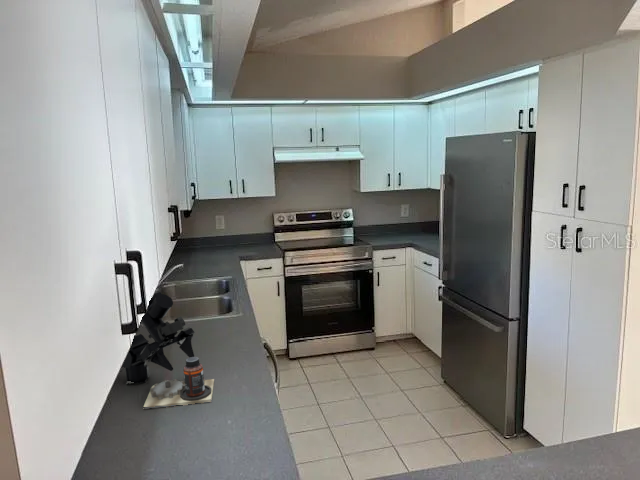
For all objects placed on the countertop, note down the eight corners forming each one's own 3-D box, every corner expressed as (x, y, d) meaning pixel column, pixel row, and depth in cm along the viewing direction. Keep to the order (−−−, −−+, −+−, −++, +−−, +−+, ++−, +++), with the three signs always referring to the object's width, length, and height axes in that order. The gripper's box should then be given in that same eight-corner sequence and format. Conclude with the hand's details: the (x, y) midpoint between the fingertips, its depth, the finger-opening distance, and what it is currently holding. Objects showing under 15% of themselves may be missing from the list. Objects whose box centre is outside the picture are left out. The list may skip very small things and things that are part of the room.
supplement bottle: (209, 391, 153) (206, 357, 151) (194, 399, 148) (191, 364, 146) (196, 387, 156) (193, 354, 154) (181, 394, 151) (178, 360, 150)
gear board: (143, 409, 145) (142, 397, 145) (152, 388, 159) (151, 377, 159) (211, 402, 148) (210, 390, 147) (214, 381, 162) (213, 370, 162)
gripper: (142, 320, 145) (172, 361, 141) (188, 303, 161) (215, 340, 157) (128, 341, 150) (156, 381, 146) (173, 323, 166) (200, 359, 162)
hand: (183, 364), depth 153 cm, fingers open, 9 cm apart
